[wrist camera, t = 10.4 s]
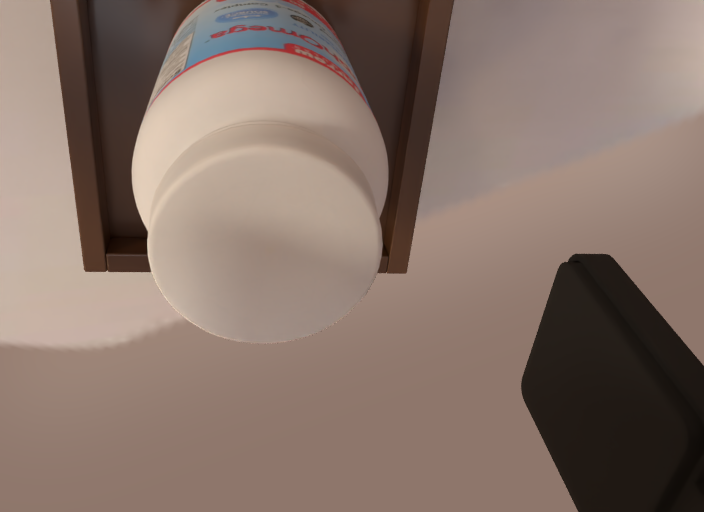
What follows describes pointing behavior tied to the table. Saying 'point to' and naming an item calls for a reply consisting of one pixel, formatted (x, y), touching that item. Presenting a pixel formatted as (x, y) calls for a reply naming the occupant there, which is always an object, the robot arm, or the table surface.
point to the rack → (141, 75)
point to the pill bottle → (260, 173)
